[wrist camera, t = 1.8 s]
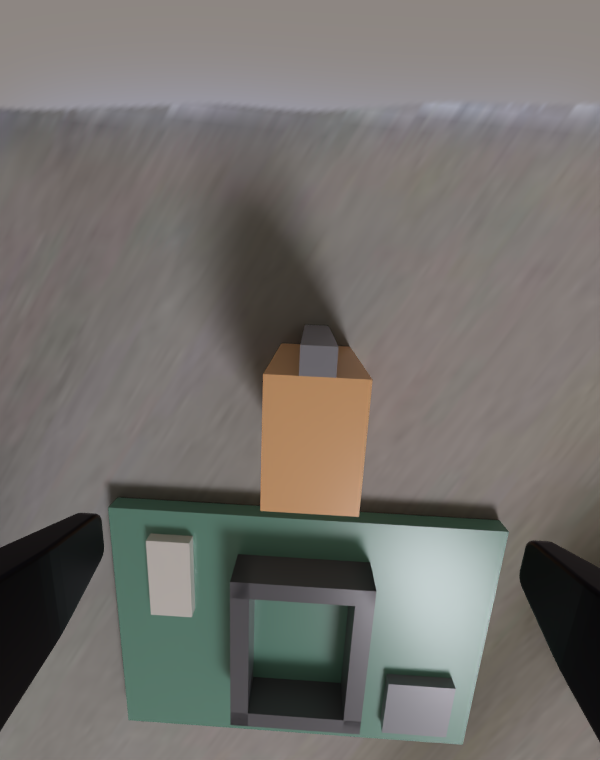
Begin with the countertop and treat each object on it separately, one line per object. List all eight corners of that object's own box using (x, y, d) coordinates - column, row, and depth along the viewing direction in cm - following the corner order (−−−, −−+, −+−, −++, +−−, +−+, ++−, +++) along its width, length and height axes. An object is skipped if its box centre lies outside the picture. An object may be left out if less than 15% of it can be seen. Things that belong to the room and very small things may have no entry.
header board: (135, 703, 25) (112, 758, 22) (117, 497, 21) (85, 531, 18) (456, 726, 24) (476, 786, 21) (499, 520, 20) (530, 558, 17)
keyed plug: (278, 434, 19) (260, 510, 13) (282, 323, 18) (263, 343, 11) (342, 437, 19) (358, 517, 13) (351, 326, 18) (375, 348, 11)
